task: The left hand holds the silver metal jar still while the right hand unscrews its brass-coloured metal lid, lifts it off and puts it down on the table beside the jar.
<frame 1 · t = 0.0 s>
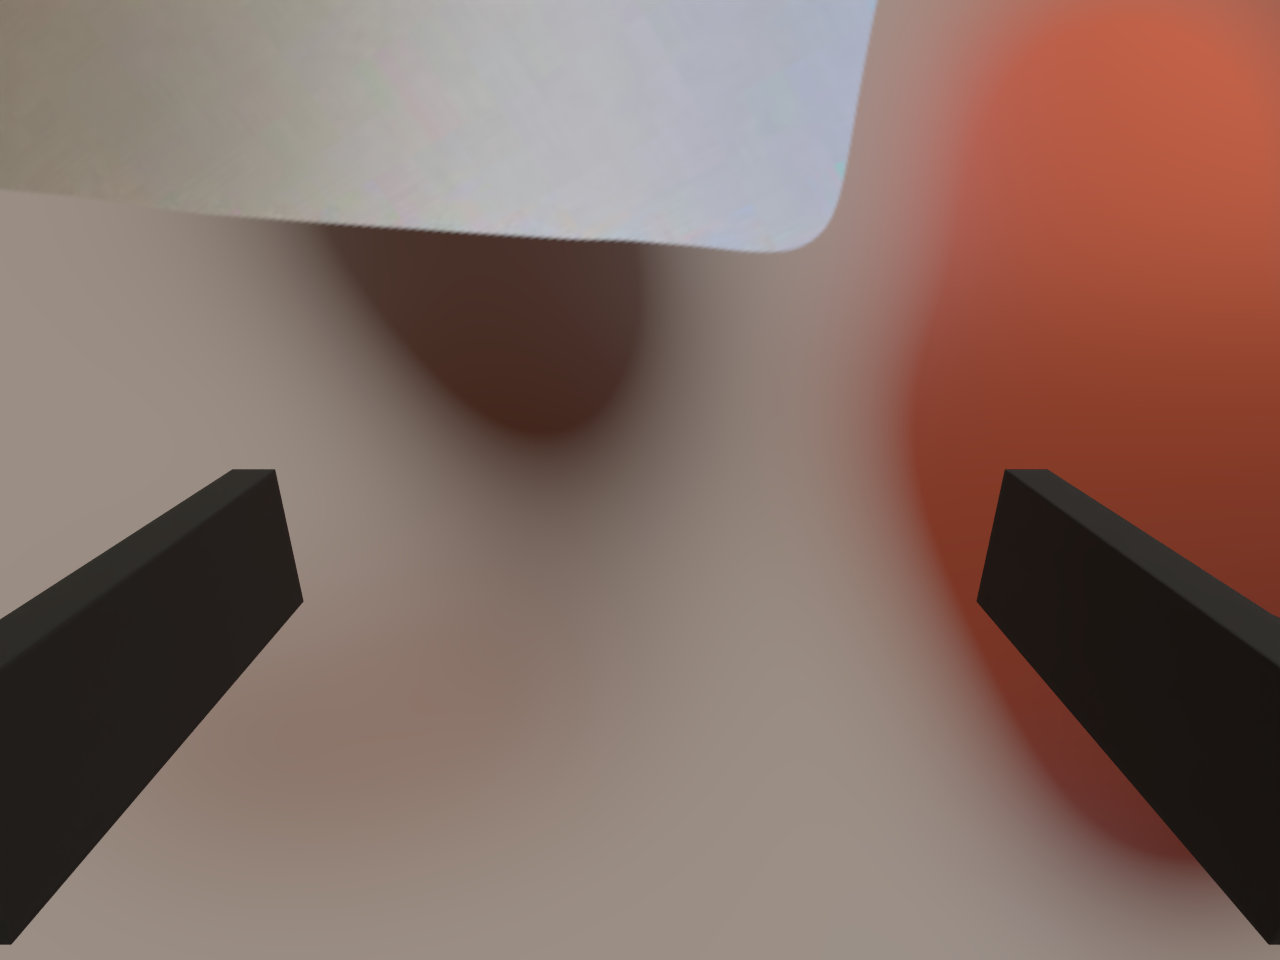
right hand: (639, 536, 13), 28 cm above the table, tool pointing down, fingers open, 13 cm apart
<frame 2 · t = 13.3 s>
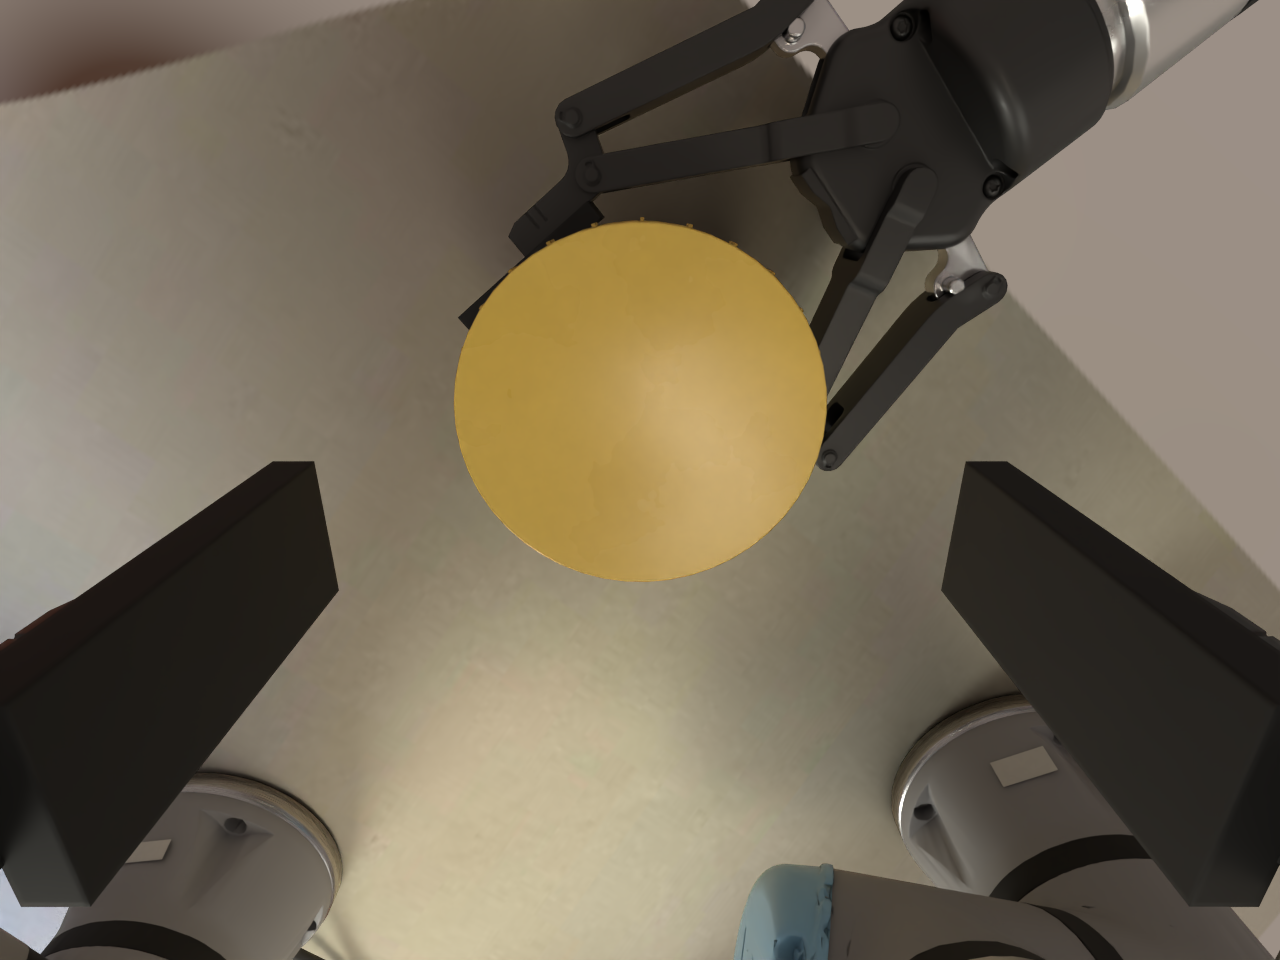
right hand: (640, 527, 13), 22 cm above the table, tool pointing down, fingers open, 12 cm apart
left hand: (561, 419, 29), fingers closed on jar, 10 cm apart
lid: (640, 416, 20), point 15 cm above the table, screwed on, not yet turned
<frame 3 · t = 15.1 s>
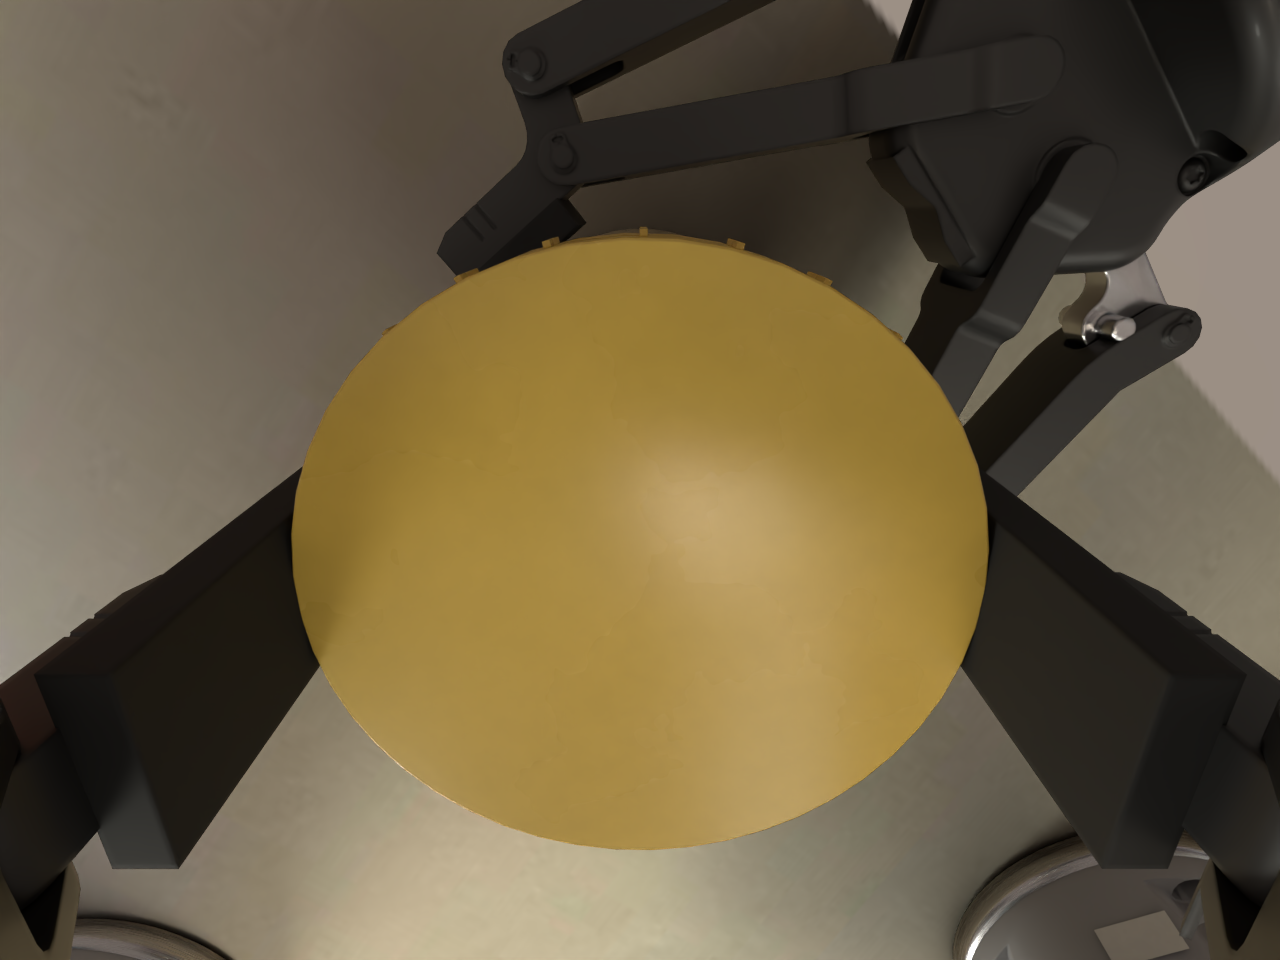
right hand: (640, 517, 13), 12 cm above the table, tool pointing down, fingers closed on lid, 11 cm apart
left hand: (526, 514, 20), fingers closed on jar, 10 cm apart
lid: (640, 590, 11), point 15 cm above the table, screwed on, not yet turned, touching right hand
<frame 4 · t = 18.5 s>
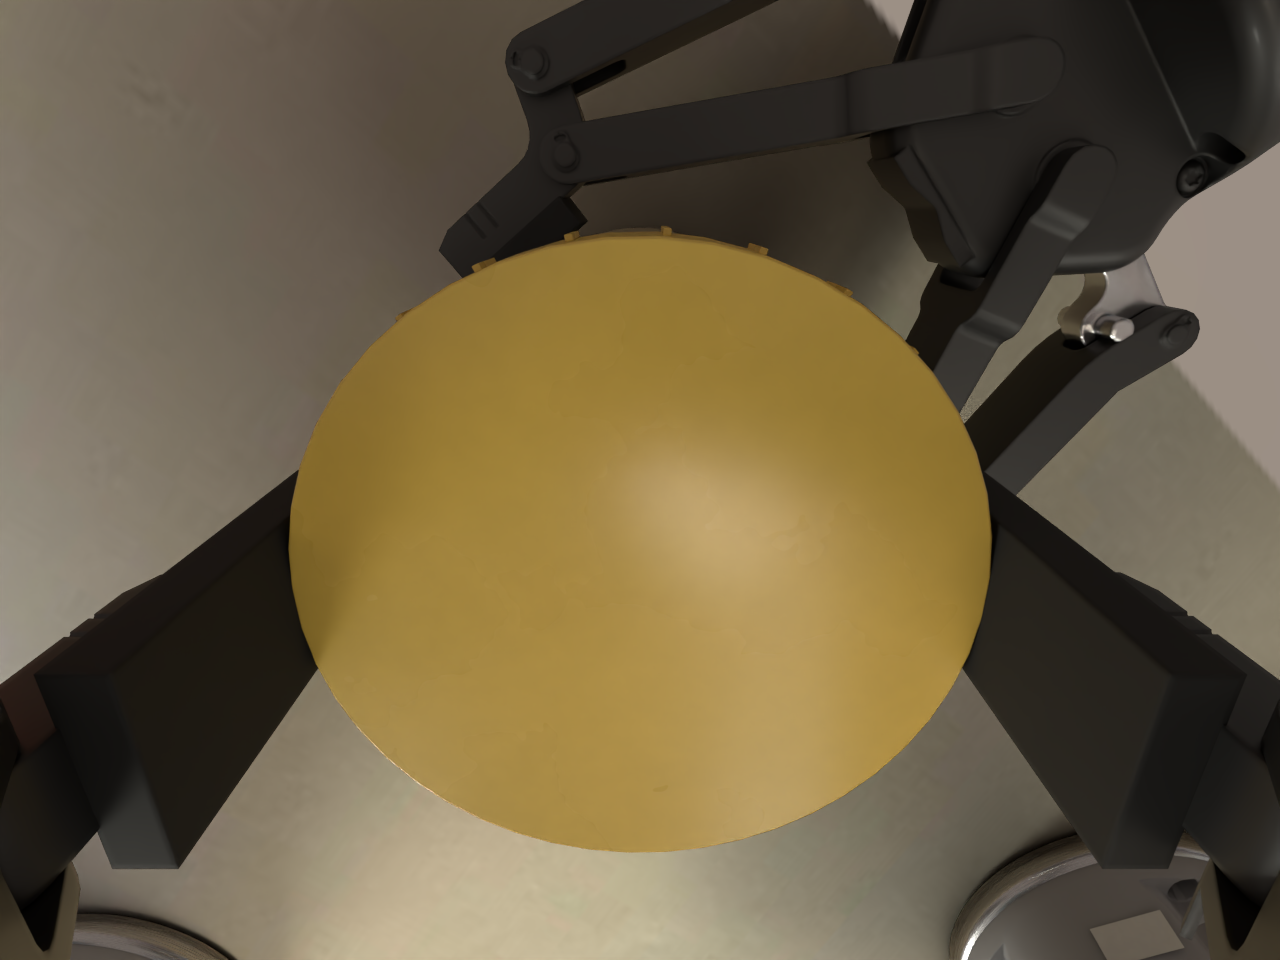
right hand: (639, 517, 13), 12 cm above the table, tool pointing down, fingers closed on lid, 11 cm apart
left hand: (526, 511, 20), fingers closed on jar, 10 cm apart
lid: (640, 591, 11), point 15 cm above the table, turned 108° so far, risen 0.2 cm, still on its thread, touching right hand
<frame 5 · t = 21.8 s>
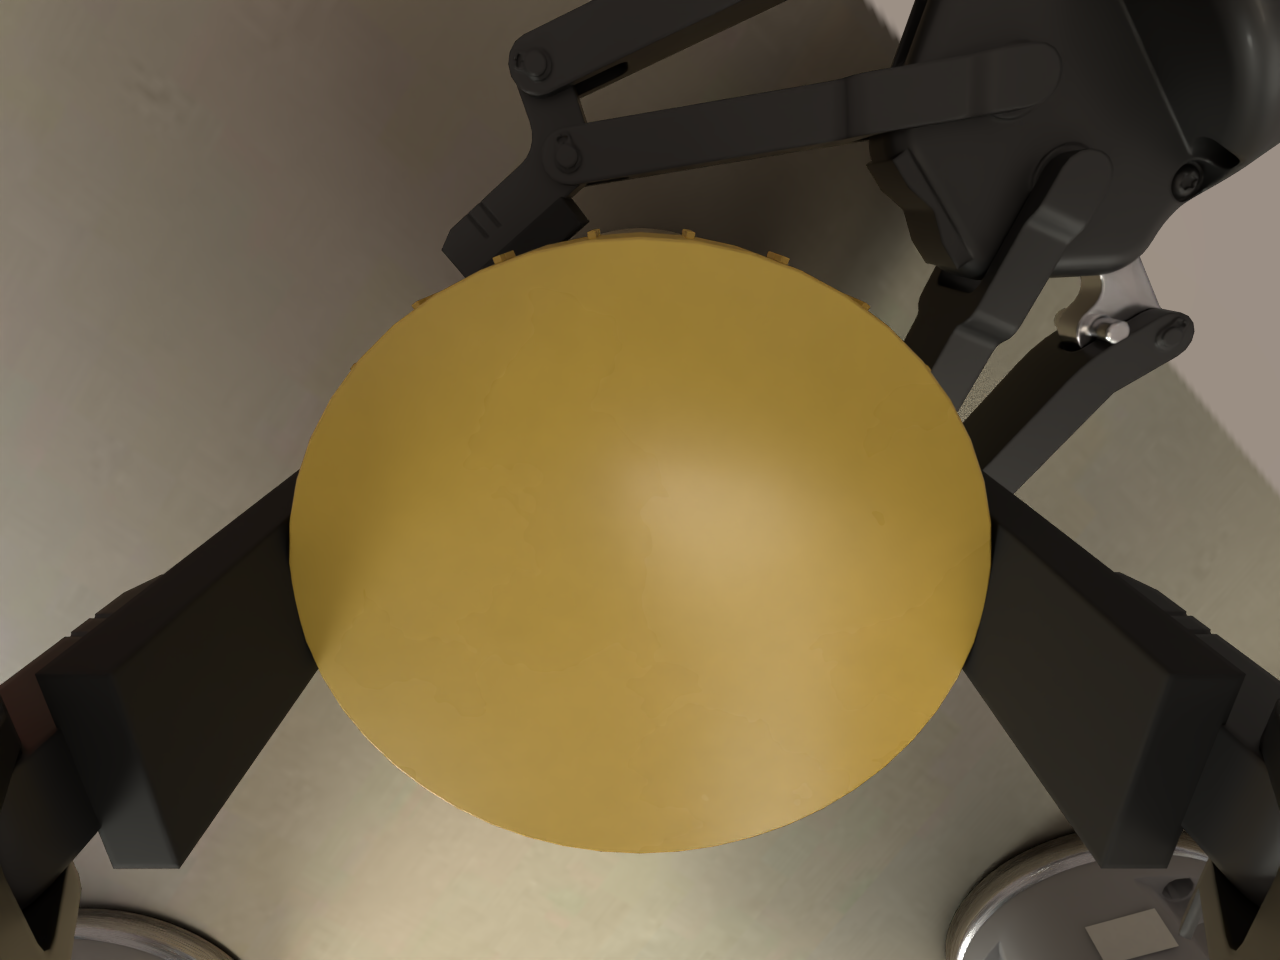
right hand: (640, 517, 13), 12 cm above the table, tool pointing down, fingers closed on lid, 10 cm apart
left hand: (526, 509, 20), fingers closed on jar, 10 cm apart
lid: (640, 592, 11), point 15 cm above the table, turned 216° so far, risen 0.3 cm, still on its thread, touching right hand
when the right hand's fingers open (0 cm above the table, at t = 32.6 s): lid drops 2 cm, point 1 cm above the table.
when the left hand's fingers open (6 cm above the table, at t = 33.6 s): jar stays where it is, on the table.
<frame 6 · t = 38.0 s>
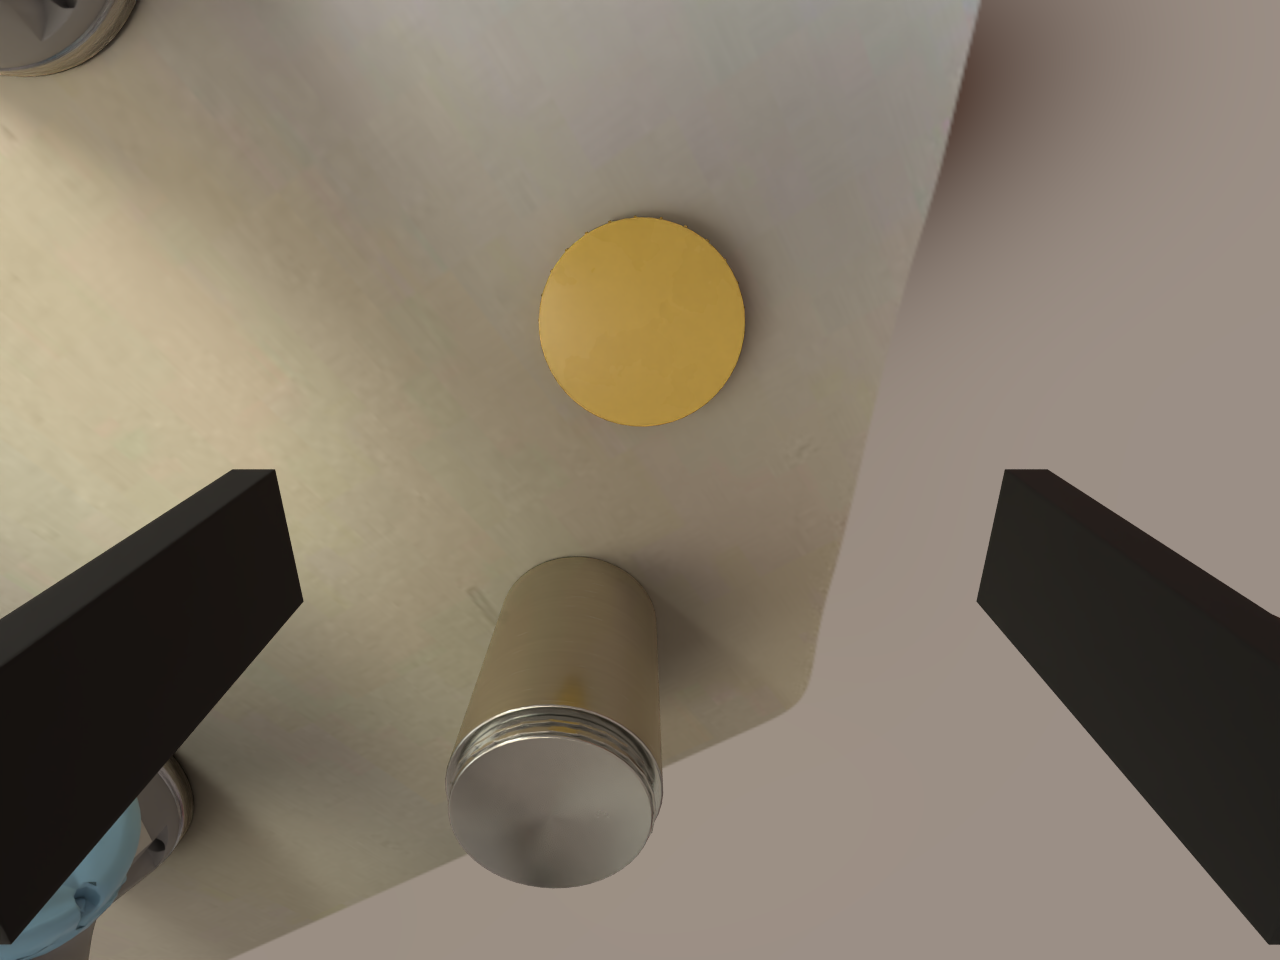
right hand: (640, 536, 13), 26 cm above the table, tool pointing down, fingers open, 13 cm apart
jar: (578, 624, 43), on the table
lid: (641, 326, 35), point 1 cm above the table, off its thread
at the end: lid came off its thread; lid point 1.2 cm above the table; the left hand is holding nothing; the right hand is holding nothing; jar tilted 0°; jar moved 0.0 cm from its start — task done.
